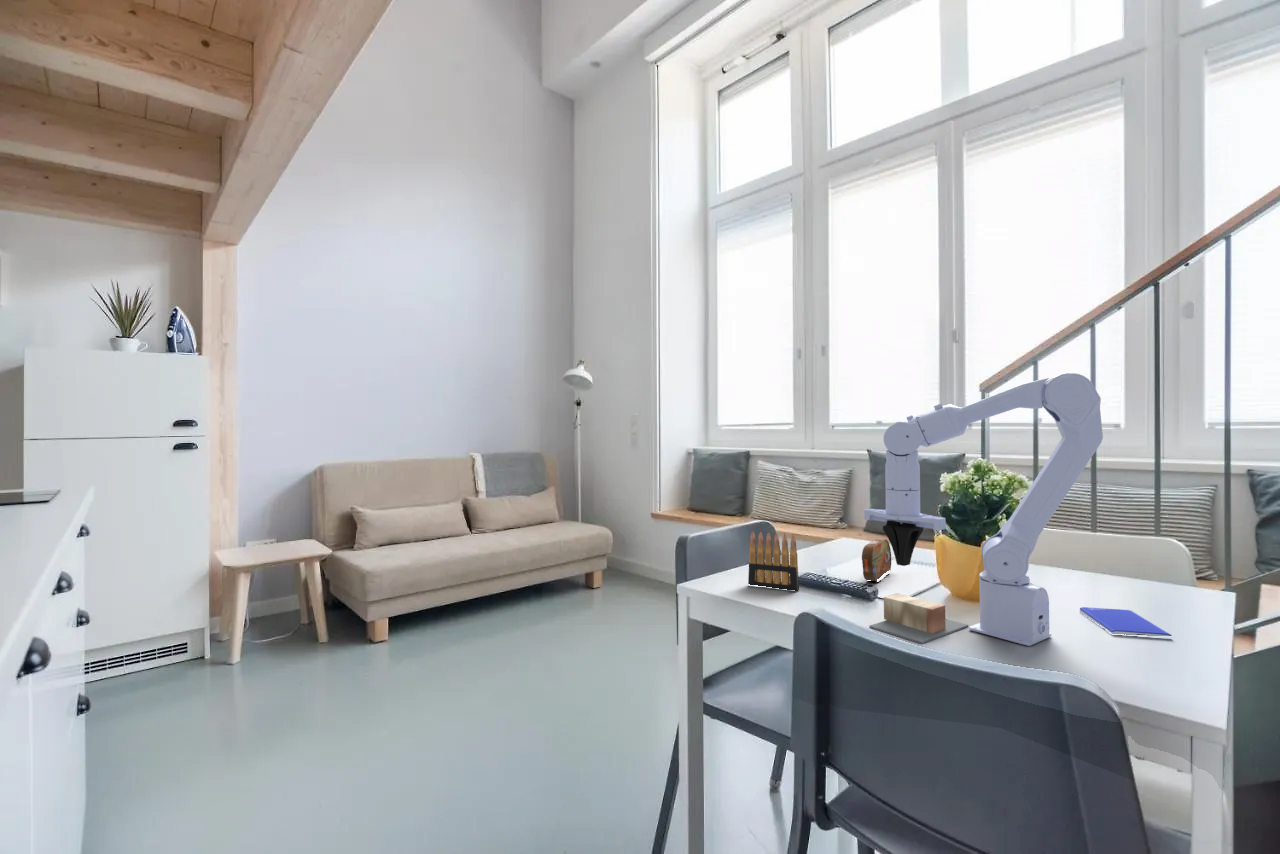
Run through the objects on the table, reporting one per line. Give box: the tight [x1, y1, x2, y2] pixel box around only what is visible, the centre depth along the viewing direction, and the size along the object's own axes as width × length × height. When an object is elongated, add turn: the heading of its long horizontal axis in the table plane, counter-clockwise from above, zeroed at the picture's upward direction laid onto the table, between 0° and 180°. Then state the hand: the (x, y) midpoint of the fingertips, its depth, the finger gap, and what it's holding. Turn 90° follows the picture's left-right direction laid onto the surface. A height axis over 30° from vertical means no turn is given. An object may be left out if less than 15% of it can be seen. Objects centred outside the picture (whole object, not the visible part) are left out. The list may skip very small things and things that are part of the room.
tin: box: [861, 538, 892, 583], centre depth 136 cm, size 15×3×8 cm, turn 143°
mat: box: [869, 618, 969, 645], centre depth 103 cm, size 10×14×1 cm
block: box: [883, 592, 946, 634], centre depth 104 cm, size 4×4×9 cm
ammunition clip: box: [747, 531, 800, 592], centre depth 129 cm, size 11×2×12 cm, turn 65°
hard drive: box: [1079, 606, 1173, 637], centre depth 102 cm, size 2×8×12 cm
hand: (903, 564), depth 107 cm, fingers closed
